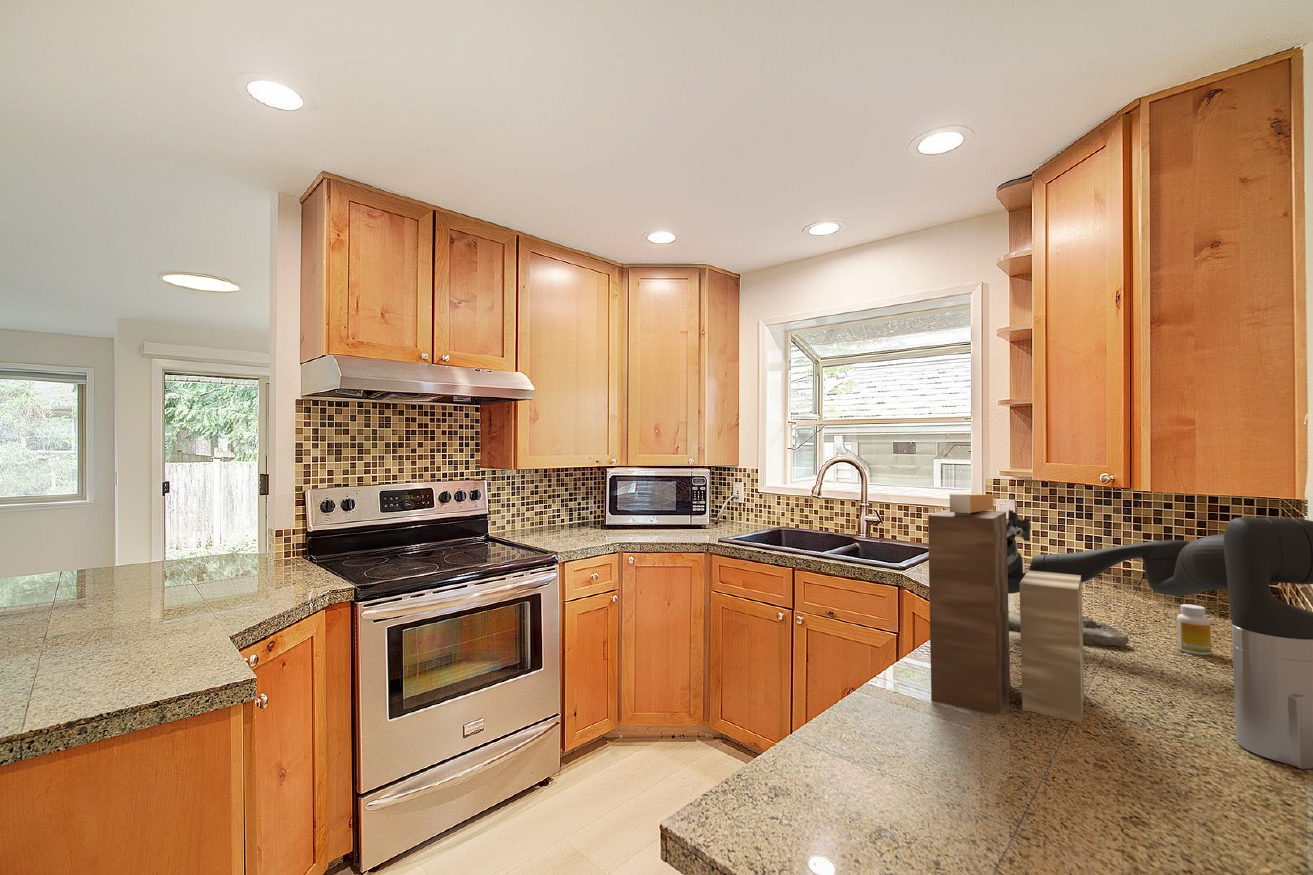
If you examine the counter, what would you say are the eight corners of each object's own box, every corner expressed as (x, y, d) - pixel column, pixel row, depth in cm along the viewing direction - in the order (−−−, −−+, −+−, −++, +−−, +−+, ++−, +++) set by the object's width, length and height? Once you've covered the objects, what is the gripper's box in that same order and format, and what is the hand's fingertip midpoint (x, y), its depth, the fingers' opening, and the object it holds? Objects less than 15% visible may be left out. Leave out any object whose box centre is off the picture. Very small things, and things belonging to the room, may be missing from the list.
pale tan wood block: (976, 508, 122) (976, 494, 122) (993, 509, 120) (993, 494, 120) (949, 512, 101) (949, 494, 101) (969, 513, 99) (969, 494, 99)
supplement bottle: (1218, 656, 124) (1216, 610, 124) (1188, 654, 125) (1186, 608, 126) (1200, 648, 129) (1198, 603, 130) (1171, 646, 130) (1170, 602, 131)
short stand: (1031, 684, 109) (1028, 570, 110) (1084, 694, 104) (1081, 575, 105) (1022, 709, 98) (1019, 583, 99) (1081, 722, 93) (1078, 589, 94)
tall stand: (950, 673, 115) (947, 505, 116) (1010, 685, 109) (1006, 508, 110) (931, 700, 102) (927, 511, 103) (997, 715, 96) (992, 515, 97)
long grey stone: (971, 618, 160) (955, 627, 153) (969, 599, 160) (953, 607, 153) (1134, 641, 133) (1123, 653, 127) (1131, 618, 133) (1121, 628, 127)
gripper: (963, 526, 139) (950, 495, 128) (1035, 531, 131) (1027, 498, 120) (961, 556, 136) (947, 527, 125) (1034, 563, 128) (1026, 532, 117)
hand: (986, 512), depth 123 cm, fingers open, 8 cm apart
